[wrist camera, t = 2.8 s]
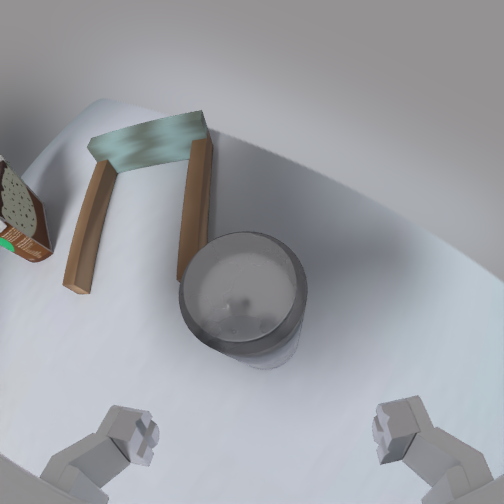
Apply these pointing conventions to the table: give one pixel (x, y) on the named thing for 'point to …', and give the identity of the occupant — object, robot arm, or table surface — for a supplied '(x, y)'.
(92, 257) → the keeper cradle
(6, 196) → the food container
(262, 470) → the table surface
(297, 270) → the drinking glass
